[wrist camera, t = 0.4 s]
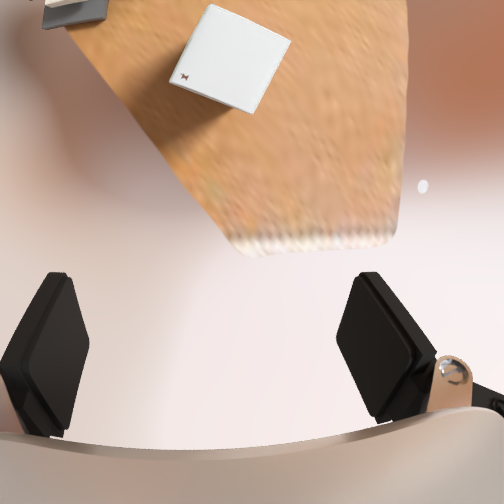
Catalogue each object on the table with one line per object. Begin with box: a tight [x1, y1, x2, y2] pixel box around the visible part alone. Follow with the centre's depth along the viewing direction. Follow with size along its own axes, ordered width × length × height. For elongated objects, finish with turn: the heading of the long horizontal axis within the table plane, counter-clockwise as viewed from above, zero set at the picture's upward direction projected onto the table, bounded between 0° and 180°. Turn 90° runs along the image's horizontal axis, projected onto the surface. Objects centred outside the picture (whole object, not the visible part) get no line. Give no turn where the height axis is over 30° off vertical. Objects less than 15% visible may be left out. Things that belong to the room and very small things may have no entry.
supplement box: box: [169, 4, 291, 114], centre depth 26 cm, size 7×7×13 cm
